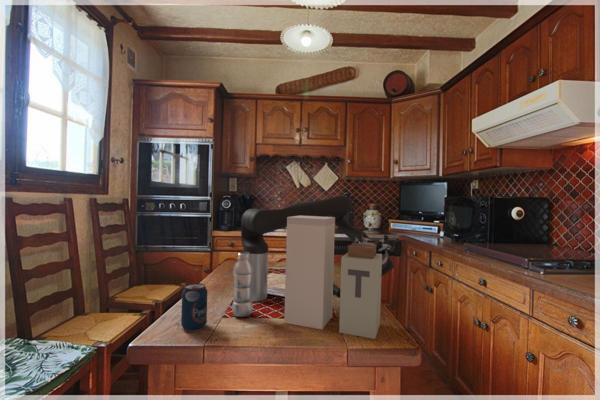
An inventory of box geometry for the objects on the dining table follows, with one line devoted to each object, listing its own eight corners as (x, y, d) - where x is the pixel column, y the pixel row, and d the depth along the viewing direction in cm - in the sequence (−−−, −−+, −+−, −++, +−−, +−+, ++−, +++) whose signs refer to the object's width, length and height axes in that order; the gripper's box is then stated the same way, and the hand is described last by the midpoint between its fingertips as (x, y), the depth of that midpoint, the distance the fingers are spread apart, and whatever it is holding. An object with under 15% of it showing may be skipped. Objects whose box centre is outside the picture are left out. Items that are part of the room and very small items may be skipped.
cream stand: (297, 311, 108) (300, 215, 108) (332, 316, 104) (335, 217, 104) (284, 322, 98) (287, 217, 98) (322, 329, 94) (325, 219, 93)
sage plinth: (347, 319, 102) (349, 251, 102) (379, 324, 99) (382, 253, 98) (339, 332, 92) (341, 256, 92) (375, 339, 88) (377, 260, 88)
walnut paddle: (359, 247, 109) (359, 238, 109) (380, 249, 107) (380, 240, 107) (347, 256, 93) (348, 246, 93) (372, 258, 90) (373, 248, 90)
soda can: (197, 334, 88) (198, 290, 88) (175, 330, 90) (176, 287, 90) (211, 324, 95) (212, 283, 95) (191, 321, 97) (192, 281, 97)
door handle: (306, 293, 121) (346, 289, 125) (294, 279, 141) (330, 276, 145) (306, 302, 122) (346, 297, 125) (295, 287, 141) (330, 283, 145)
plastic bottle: (235, 321, 98) (236, 255, 98) (229, 313, 104) (230, 251, 104) (255, 317, 101) (257, 254, 101) (248, 310, 107) (250, 250, 107)
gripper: (360, 242, 132) (354, 225, 118) (396, 245, 127) (394, 227, 113) (358, 260, 128) (351, 244, 115) (395, 263, 123) (392, 247, 110)
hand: (372, 236), depth 114 cm, fingers open, 8 cm apart
